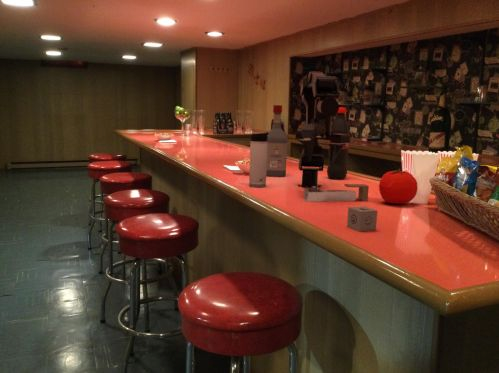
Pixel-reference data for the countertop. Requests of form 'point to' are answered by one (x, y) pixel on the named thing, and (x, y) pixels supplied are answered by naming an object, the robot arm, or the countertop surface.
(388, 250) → the countertop surface
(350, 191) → the square scoop
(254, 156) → the travel mug
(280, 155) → the liquor
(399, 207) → the countertop surface
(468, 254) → the countertop surface
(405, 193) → the tomato
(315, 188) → the dark round cylinder
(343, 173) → the cola bottle
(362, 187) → the block
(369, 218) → the dice cube
